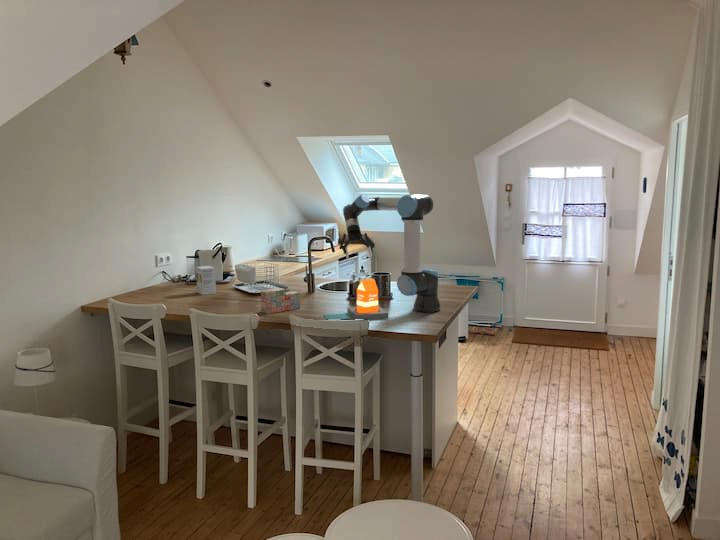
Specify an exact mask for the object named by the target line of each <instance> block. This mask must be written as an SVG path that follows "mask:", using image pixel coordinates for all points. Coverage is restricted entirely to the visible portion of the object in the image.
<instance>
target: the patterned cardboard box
mask: <svg viewBox="0 0 720 540" xmlns="http://www.w3.org/2000/svg"><path fill="white" fill-rule="evenodd" d="M300 296H301V295H300V292H298V291H295V290H292V291H286V289H285V288H281V287H277V288H270V289H264V290H260V304H261V305H260V306H261V313H264V314H266V315H267V314H268V315H270V314H275V313H281V312H285V311H291V310H297V309H300V308H301V304H300V303H301V301H300V299H301V298H300Z"/></svg>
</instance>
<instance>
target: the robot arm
mask: <svg viewBox="0 0 720 540" xmlns="http://www.w3.org/2000/svg"><path fill="white" fill-rule="evenodd" d="M433 209H434V200H433V198H432V197H431V196H430V195H428V194H426V193H418V194H417V193H413V194H405V195H403V196H401V197H400V196H399V197H386V196H385V197H379V196H376V197H369V196H367V195H365V194H359V195H358V196H357V197H356V198H355V199H354V201H353V202H352V203H350V204H347V205H345V206H344V207H343V208H342V212H343V218H344V223H345V228H346V232H347V233H343V234H342V240H341V242H340V245H339V250H342V251H343V254H344V255H345V258H346V260H349V258H350V255H349V251H348V246H349V245H350V244H351V243H352V242H353V243H355V242H359V243H361V244H362V245H364V246H365V247H366V248H368V249H367V251H368V255H369V258H370V259H371V260H372V259H373V258H372V257H373V252H374V250H373V249H374V248H375V245H376V244H375V243H374V242H373V241H372V240H371V238H370V237H369V236H368V233H366V232H364V233H363V234H362V232H361V228H360V223H359V216H360V215H361V214H362V213H363V212H369V211H370V212H371V211H393V212H395V211H397V213H398V215H399V216H401V217H400V218H401V219H400V220H401V221H402V223H403V225H404V226H403V234H404V235H403V268H402V269H401V271H400V276H399V277H397V279H396V286H397V289H398V291H399V292H400V294H402V295H403V296H406V297H411V296H412V297H413V296H415V295H416V296H415V299H414V300H415V301H414V303H413V311H415V310H416V312H419V311H422V312H421V313H436V312H435V311H437V312H440V311H441V310H442V309H441V308H442V307H441V303H440V300H439V297H438V295H439V292H438V291H439V271H438V270H436V269H433V268H432V269H431V268H421V224H422V222H423V221H424V216H426V215H429V214H430V213H431V212H432V210H433ZM347 238H348V239H347ZM346 239H347V241H346ZM440 309H441V310H440ZM439 310H440V311H439Z"/></svg>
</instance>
